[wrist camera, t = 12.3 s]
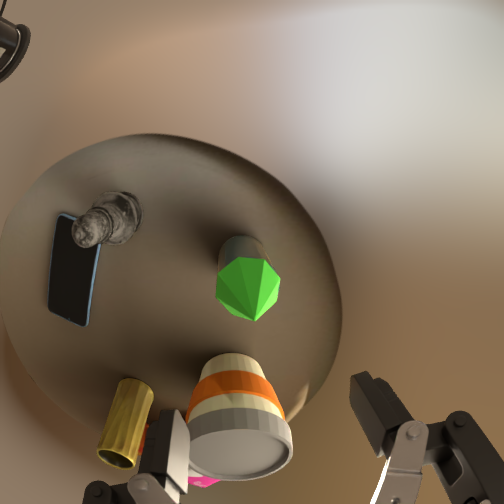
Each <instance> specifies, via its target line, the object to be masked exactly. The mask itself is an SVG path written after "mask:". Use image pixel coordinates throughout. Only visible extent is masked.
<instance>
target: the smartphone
mask: <svg viewBox="0 0 504 504" xmlns="http://www.w3.org/2000/svg"><path fill="white" fill-rule="evenodd" d="M76 219H77V218H75V217H72V216H70V215H67V214H60V215H59V216H58V217H57V220H56V225H55V231H54V238H53V245H52V252H51V261H50V271H49V283H48V301H47V305H48V309H49V310H50V311H51V312H52V313H53V314H55V315H57V316H59V317H62V318H64V319H66V320H68V321H70V322H72V323H74V324H76V325H78V326H81V327H86V326H87V325H88V322H89V314H90V306H91V298H92V291H93V285H94V279H95V273H96V267H97V262H98V256H99V251H100V246H101V244H95V245H93V246H91V247H88V248H83V247H80V246H79V245H78V244H77V243H76V242H75V241H74V239H73V236H72V225H73V223H74V221H75V220H76Z"/></svg>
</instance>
